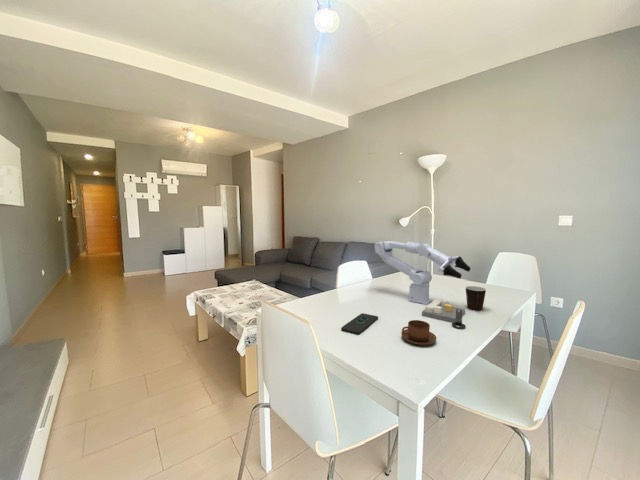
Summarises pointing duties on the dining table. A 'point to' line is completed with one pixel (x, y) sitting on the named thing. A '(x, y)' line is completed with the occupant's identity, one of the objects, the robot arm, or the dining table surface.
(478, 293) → the coffee mug
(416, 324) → the cup and saucer
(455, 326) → the black door knob
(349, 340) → the dining table surface
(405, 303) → the dining table surface
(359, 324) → the smart home device
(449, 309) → the block
